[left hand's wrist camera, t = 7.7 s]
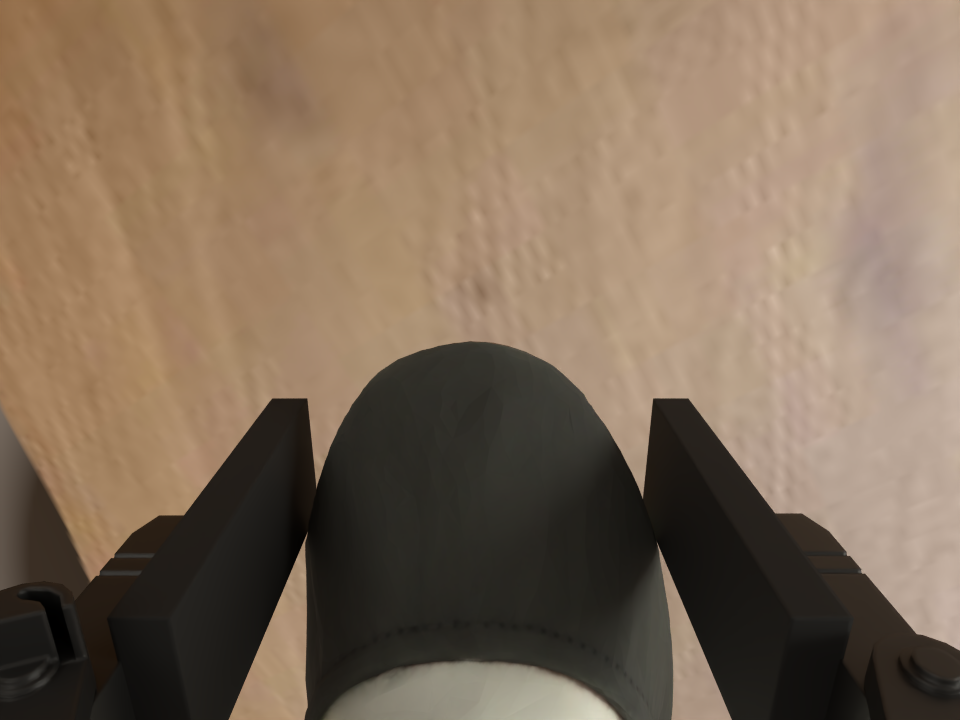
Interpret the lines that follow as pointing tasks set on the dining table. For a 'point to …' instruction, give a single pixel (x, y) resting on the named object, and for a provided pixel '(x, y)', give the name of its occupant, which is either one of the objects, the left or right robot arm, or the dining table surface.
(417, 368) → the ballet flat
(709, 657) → the left robot arm
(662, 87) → the dining table surface
